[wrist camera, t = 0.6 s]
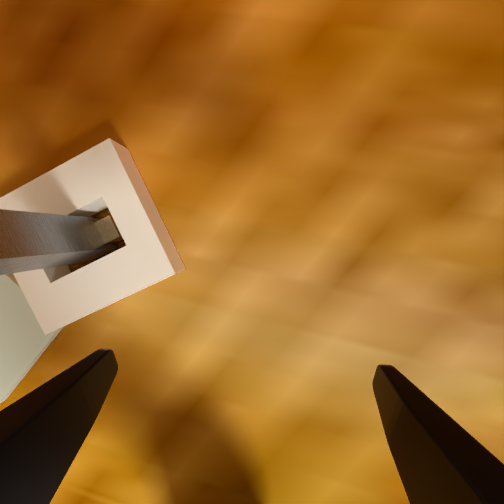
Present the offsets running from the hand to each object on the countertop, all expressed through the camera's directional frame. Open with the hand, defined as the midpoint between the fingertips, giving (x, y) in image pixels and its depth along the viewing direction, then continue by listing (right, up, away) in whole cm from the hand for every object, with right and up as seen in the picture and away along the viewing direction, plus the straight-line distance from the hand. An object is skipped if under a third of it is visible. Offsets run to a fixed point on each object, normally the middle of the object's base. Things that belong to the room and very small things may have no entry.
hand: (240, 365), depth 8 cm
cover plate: (-14, +5, +14) cm, 21 cm away
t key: (-14, +5, +14) cm, 21 cm away
